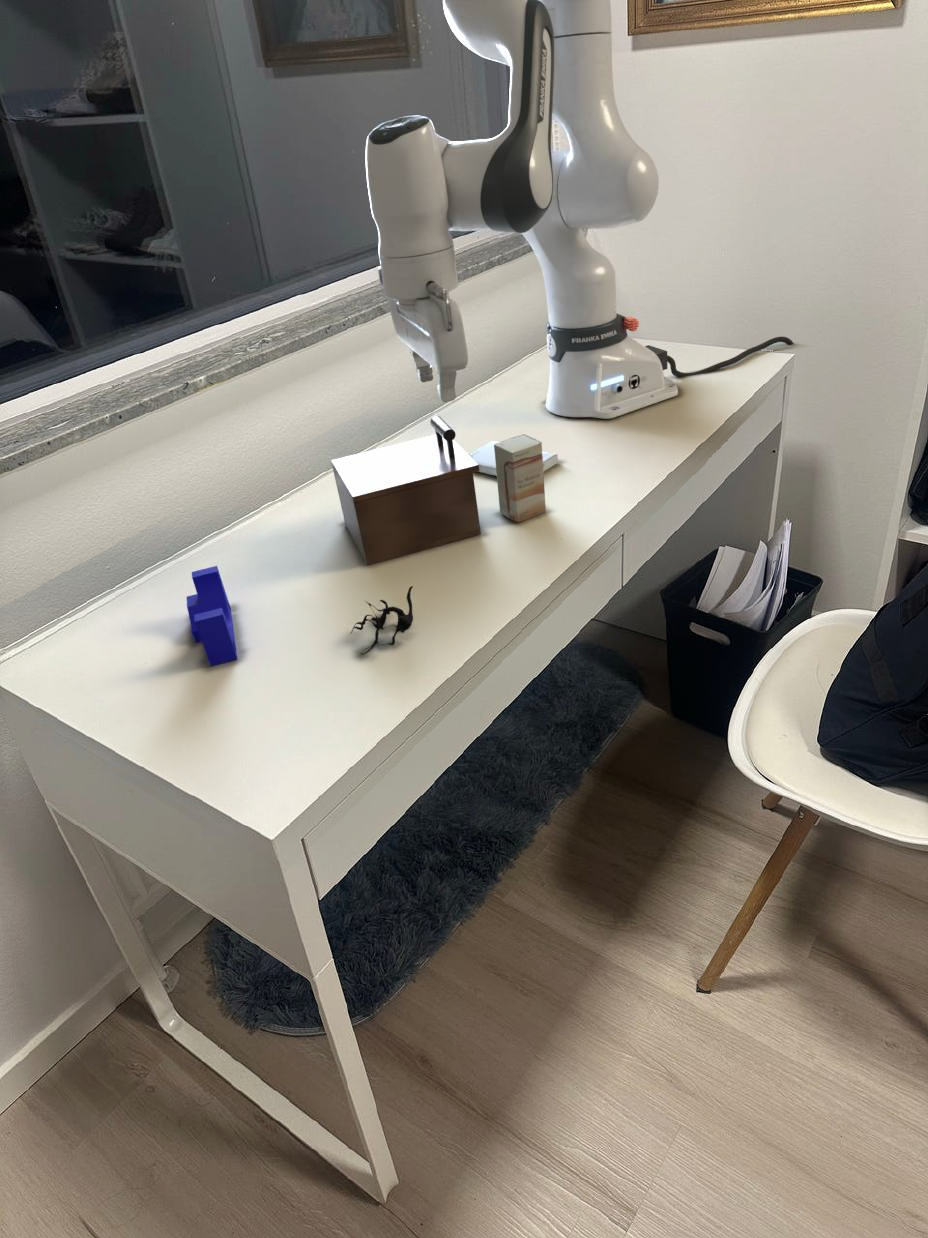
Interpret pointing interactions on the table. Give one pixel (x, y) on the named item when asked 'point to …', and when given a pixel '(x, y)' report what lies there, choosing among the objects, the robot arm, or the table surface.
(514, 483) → the small cardboard box
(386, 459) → the lid
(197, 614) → the cable clip
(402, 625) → the creature
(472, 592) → the table surface
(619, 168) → the robot arm
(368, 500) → the chest
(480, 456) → the hard drive
